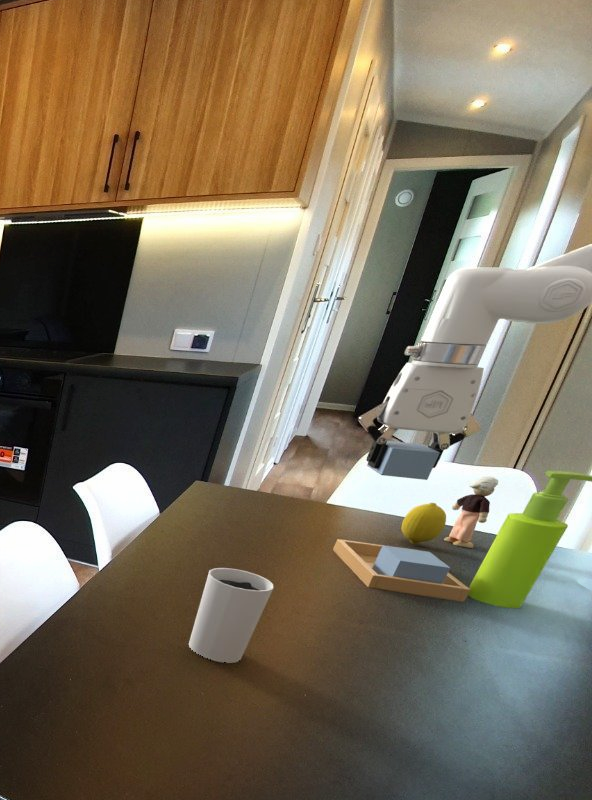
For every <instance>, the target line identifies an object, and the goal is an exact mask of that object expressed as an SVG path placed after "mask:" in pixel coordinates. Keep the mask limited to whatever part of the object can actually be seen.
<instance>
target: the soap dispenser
mask: <svg viewBox="0 0 592 800" xmlns="http://www.w3.org/2000/svg"><path fill="white" fill-rule="evenodd" d="M544 475H545V476H547V477H548V478H550V479H549V481H548V483H547V484H546V487H545V488H544V490H541V491H537V492H534V493H532V495H531V497H530V498H529V500H528V502H527V504H526V506H525V507H524V510H523V511H522V512H513V513H508V514H507V516H506V517H505V520H504V521H503V523H502V525H501V527H500V528H499V531H498V532H497V533H496V536H495V539H494V540H493V542H492V543H491V546H490V547H489V549H488V551H487V553H486V555H485V557H484V558H483V560H482V562H481V564H480V566H479V567H478V570H477V572H476V573H475V575H474V577H473V579H472V581H471V583H470V584H469V586H468V588H469V589H470V592H469V594H468V595H467V597H469V598H471V599H473V600H476V601H478V602H481V603H483V604H488V605H491V606H495V607H500V608H506V609H520V608H521V607H522V605H523V604H524V602H525V600H526V599H527V597H528V595H529V593H530V592H531V590H532V589H533V587H534V585H535V583H536V581H537V580H538V578H539V576H540V575H541V573H542V571H543V570H544V568H545V566H546V565H547V563H548V561H549V559H550V557H551V556H552V554H553V553H554V551H555V550H556V547H557V546H558V544H559V542H560V541H561V539H562V538H563V535H564V534H565V532H566V530H567V529H568V527H569V525H568V524H567V523H565V522H563V521H561V520H559V517H560V515H561V514H562V512H563V510H564V509H565V506H566V505H567V503H568V501H569V497H566V496H565V494H563V493H564V492H565V489H566V487H567V486H568V484H569V483H570V481H571V480H576V481H587V482H590V483H591V482H592V475H591V474H587V473H581V472H576V471H565V470H546V471H545V473H544Z"/></svg>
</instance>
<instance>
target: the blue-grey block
mask: <svg viewBox="0 0 592 800" xmlns="http://www.w3.org/2000/svg"><path fill="white" fill-rule="evenodd" d="M397 547H398V546H392V547H390V545H384V546H382V548H381V550H380V552H379V555H378V557H377V559H376V561H375V563H374V565H373V568H372V569H373V570H374V571H375V572H376V573H377V574H379V575H386V576H393V577H399V578H406V579H413V580H419V581H426V582H433V583H439V584H442V583H443V581H444V579H445V578H446V576H447V574H448V573H449V572H450V570H451V567H450V566H449V565H447V564H446V563H445V562H444V561H442V560H441V559H440V558H438V557H437V556H436V555H434V554H433V553H432V552H430V551H425V550H420V549H413V548H406V547H399V548H397ZM405 548H406V549H405ZM412 549H413V550H412ZM419 550H420V551H419Z"/></svg>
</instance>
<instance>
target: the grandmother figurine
mask: <svg viewBox="0 0 592 800" xmlns="http://www.w3.org/2000/svg"><path fill="white" fill-rule="evenodd" d="M497 486H499V480H498V479H497V478H495V477H493V476H483V477H481V478H478V479H476V480H474V481H473V482H472V483H470V484H469V488H470V489H471V488H472V489H473V493H474V494H467V495H464V496H462V497H460V498H457V500H456V502H455V503H454V504H453V505H452V506H451V509H452V510H453V511H458V510H460V508H461V513H460V515H459V516H458V517H457V519H456V520H455V523H454V524H453V526H452V529H451V531H450V533H449V536H447V537H444V538H443V541H444V542H447V543H452V545H453V546H457V547H461V548H468V549H473V548H474V544H473V542H471V540H472V539H473V535H474V533H475V529H476V527H477V523H481V524H484V523H486V522H487V521H488V520H487V519H488V516H489V513H490V505H491V501H490V500H489V499H488V498H487V497H488V496H490V495H492V494H493V493H494V492H495V488H496V487H497Z"/></svg>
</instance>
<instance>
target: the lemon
mask: <svg viewBox="0 0 592 800" xmlns="http://www.w3.org/2000/svg"><path fill="white" fill-rule="evenodd" d="M446 523H447V514H446V512H445V510H444V509H443V508H442V507H440V506H439V505H437V503H436V502H429V503H424V504H420V505H417V506H415V507H413V508H412V509H411V510H410V511H408V513H407V514H406V515H405V516H404V518H403V519H402V522H401V528H400V529H401V532H402V535H403V536H404V537H405V538H406V539H408V540H409V542H410V543H411V544H412V545H417V544H421V543H426V542H430V541H432V540H434V539H435V538H437V537H438V536H440V534H441V533H442V532H443V531H444V529H445V526H446Z"/></svg>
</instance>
